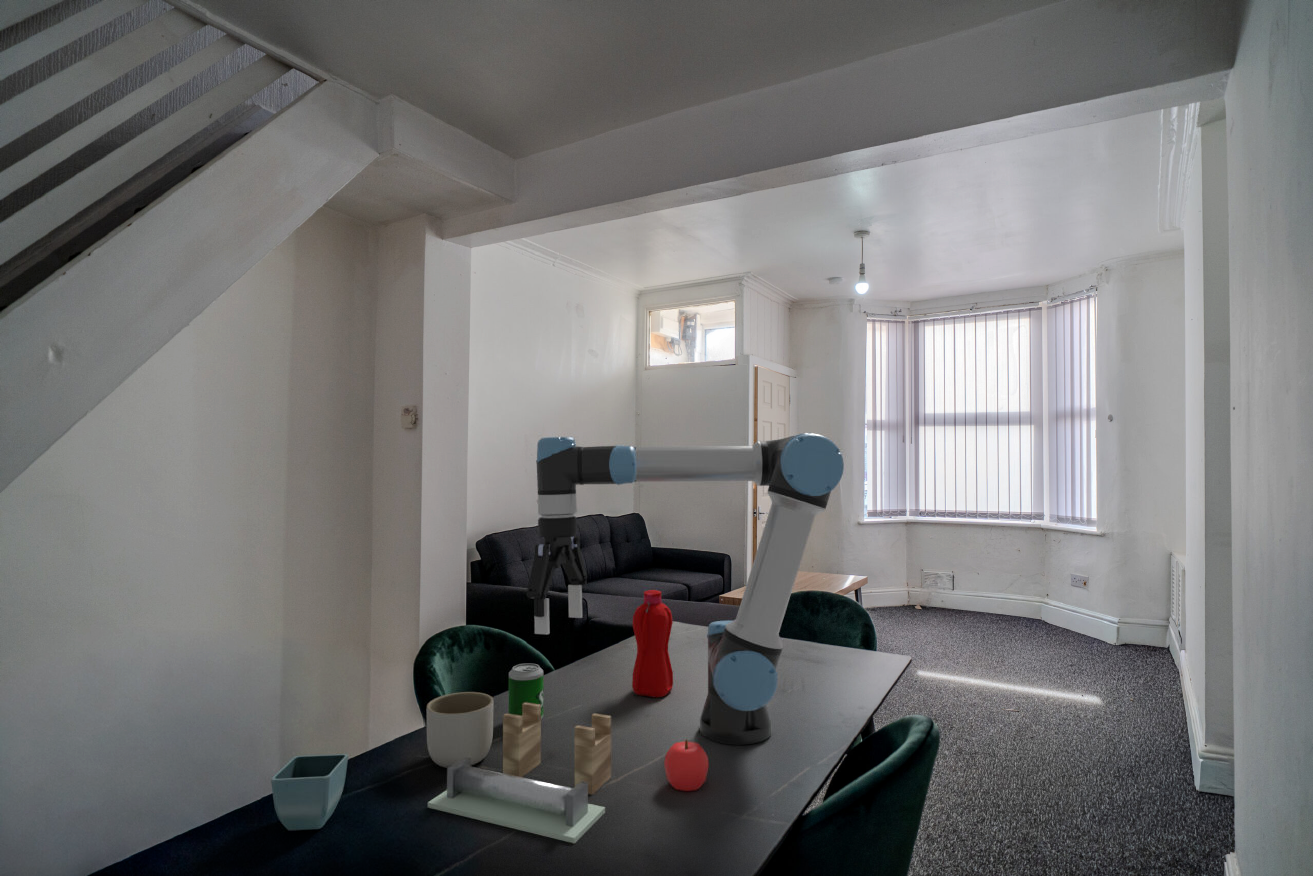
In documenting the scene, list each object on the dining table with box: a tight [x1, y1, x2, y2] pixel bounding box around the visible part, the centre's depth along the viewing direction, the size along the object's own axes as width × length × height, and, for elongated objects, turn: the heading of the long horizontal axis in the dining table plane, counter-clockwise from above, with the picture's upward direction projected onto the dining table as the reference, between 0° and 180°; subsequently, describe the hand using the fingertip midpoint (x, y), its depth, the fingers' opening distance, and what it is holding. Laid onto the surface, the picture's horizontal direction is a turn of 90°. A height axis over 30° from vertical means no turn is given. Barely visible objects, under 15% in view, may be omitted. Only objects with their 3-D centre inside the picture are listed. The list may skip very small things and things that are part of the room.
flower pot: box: [270, 753, 349, 831], centre depth 111 cm, size 9×9×9 cm
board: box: [427, 789, 606, 844], centre depth 115 cm, size 28×10×1 cm, turn 67°
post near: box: [574, 713, 612, 796], centre depth 124 cm, size 4×7×11 cm, turn 157°
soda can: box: [508, 663, 544, 720], centre depth 153 cm, size 8×8×12 cm
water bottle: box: [631, 589, 674, 698], centre depth 172 cm, size 9×11×25 cm
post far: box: [502, 702, 542, 778], centre depth 130 cm, size 4×7×11 cm, turn 157°
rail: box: [446, 757, 589, 827], centre depth 115 cm, size 24×5×5 cm, turn 67°
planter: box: [426, 691, 494, 769], centre depth 134 cm, size 12×12×11 cm
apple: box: [663, 739, 710, 792], centre depth 123 cm, size 8×8×8 cm
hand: (559, 625), depth 135 cm, fingers open, 13 cm apart
